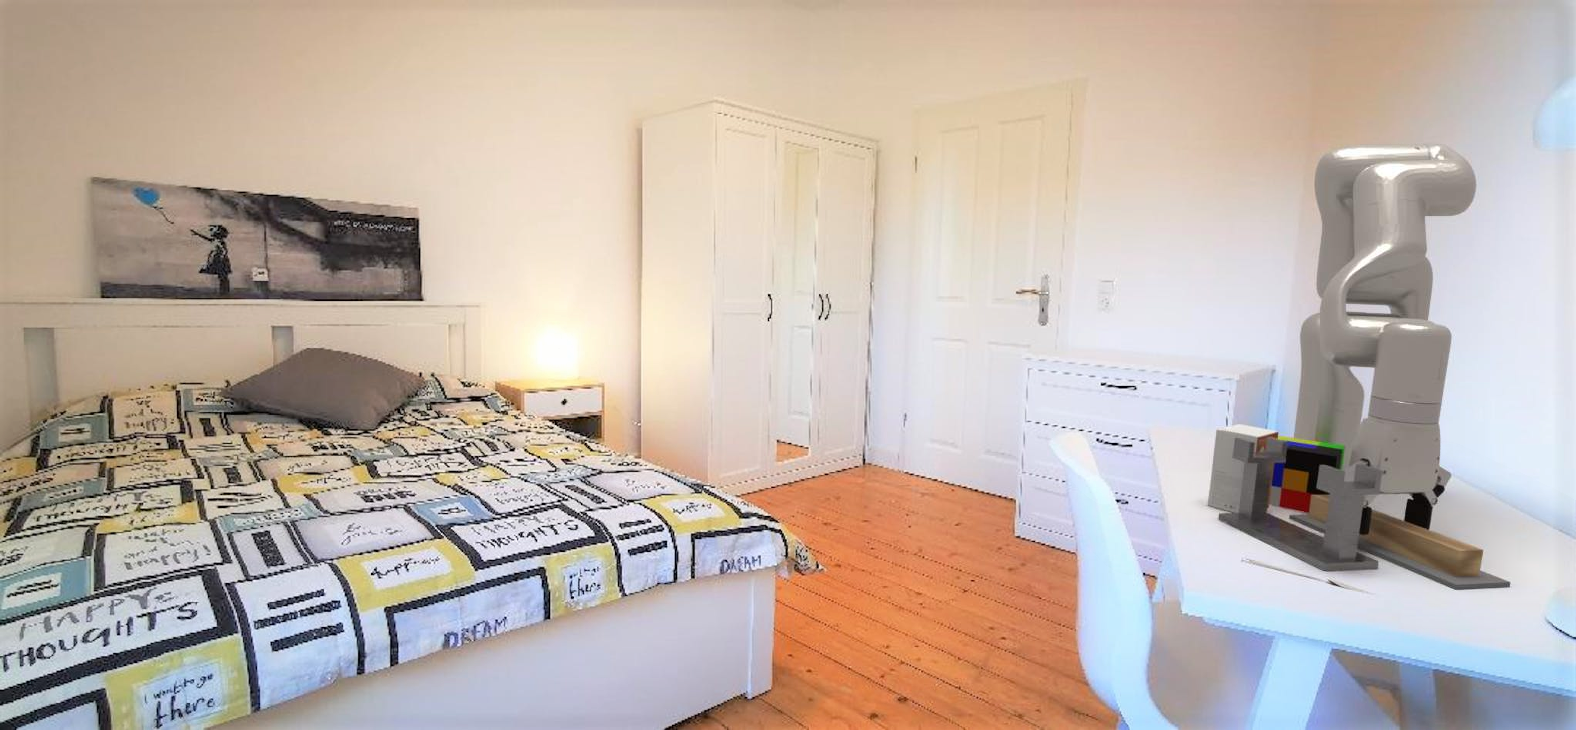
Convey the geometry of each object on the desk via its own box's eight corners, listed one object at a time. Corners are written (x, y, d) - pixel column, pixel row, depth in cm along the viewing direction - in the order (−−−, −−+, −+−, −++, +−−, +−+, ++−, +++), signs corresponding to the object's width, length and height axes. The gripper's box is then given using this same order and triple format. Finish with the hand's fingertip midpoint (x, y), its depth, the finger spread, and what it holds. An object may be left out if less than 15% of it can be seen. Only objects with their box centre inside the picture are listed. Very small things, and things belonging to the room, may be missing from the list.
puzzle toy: (1255, 502, 122) (1262, 444, 121) (1267, 489, 129) (1274, 435, 128) (1328, 517, 115) (1337, 456, 114) (1337, 503, 123) (1345, 445, 121)
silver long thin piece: (1426, 609, 83) (1236, 558, 96) (1425, 617, 83) (1235, 566, 96) (1428, 598, 86) (1244, 551, 99) (1427, 606, 86) (1243, 558, 99)
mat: (1333, 517, 115) (1334, 513, 115) (1509, 586, 91) (1510, 582, 91) (1289, 518, 114) (1289, 514, 114) (1455, 589, 90) (1455, 584, 90)
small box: (1248, 517, 114) (1258, 436, 113) (1206, 505, 119) (1215, 428, 118) (1270, 508, 119) (1279, 430, 117) (1228, 497, 124) (1237, 423, 122)
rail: (1328, 516, 114) (1331, 494, 113) (1479, 576, 92) (1483, 549, 92) (1308, 516, 113) (1311, 495, 113) (1455, 577, 92) (1459, 550, 91)
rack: (1264, 518, 114) (1274, 436, 112) (1377, 568, 96) (1391, 471, 94) (1218, 519, 113) (1227, 436, 111) (1324, 571, 94) (1337, 472, 92)
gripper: (1429, 406, 105) (1412, 519, 108) (1324, 406, 103) (1309, 522, 105) (1486, 417, 98) (1466, 538, 100) (1374, 418, 95) (1356, 542, 98)
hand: (1386, 530), depth 103 cm, fingers open, 9 cm apart
